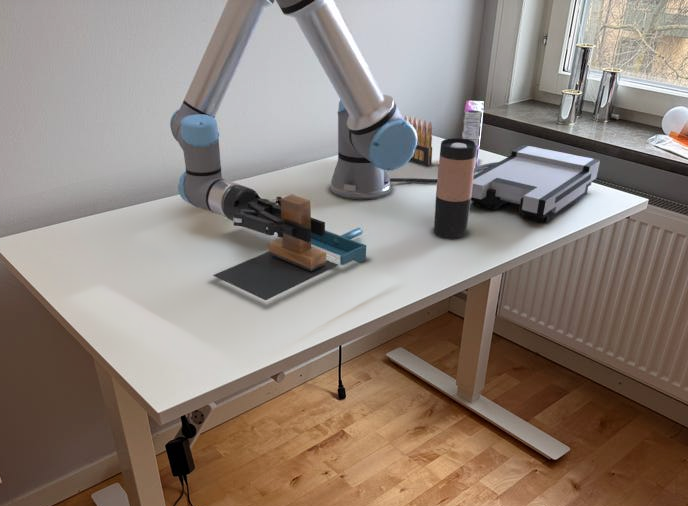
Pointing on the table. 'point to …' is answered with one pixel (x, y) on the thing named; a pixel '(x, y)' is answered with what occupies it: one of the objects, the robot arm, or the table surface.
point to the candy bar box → (473, 124)
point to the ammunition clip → (422, 143)
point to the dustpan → (342, 245)
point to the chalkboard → (269, 275)
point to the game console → (535, 182)
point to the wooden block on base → (294, 247)
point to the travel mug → (454, 187)
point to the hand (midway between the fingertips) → (316, 232)
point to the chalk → (331, 256)
